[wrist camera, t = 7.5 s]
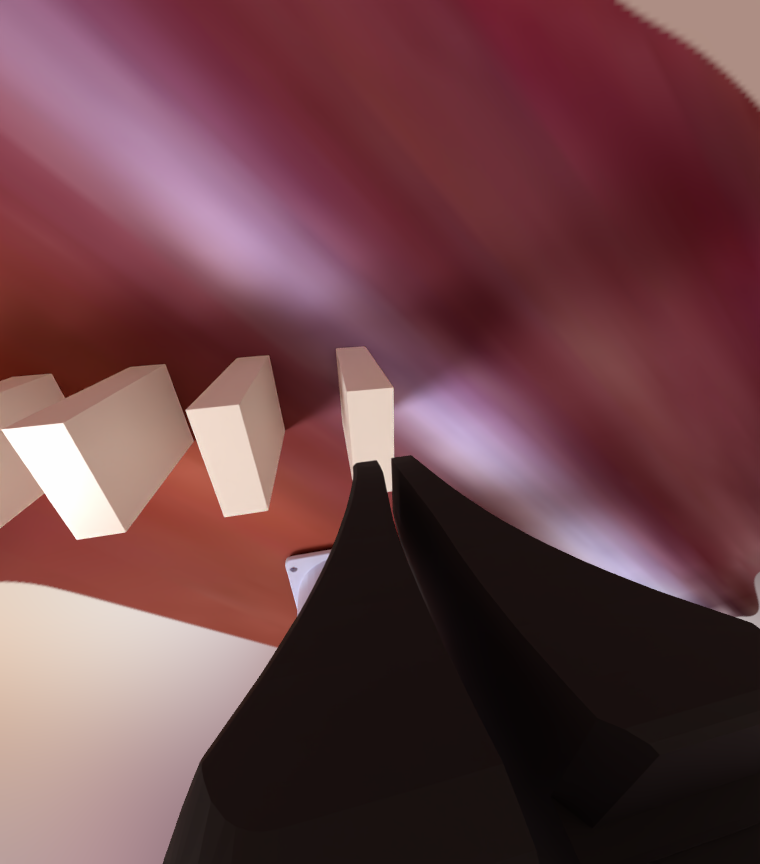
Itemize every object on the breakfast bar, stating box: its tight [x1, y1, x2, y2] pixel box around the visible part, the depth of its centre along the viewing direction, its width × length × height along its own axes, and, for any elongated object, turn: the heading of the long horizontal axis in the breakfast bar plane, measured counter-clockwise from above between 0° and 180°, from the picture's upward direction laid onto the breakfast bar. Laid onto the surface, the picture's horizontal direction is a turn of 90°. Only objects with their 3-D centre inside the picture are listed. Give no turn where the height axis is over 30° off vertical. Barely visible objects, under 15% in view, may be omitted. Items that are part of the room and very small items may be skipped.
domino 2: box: [185, 355, 285, 517], centre depth 14 cm, size 4×2×7 cm, turn 2°
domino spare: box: [336, 346, 394, 492], centre depth 14 cm, size 4×2×7 cm, turn 2°
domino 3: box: [1, 364, 194, 540], centre depth 13 cm, size 4×2×7 cm, turn 3°
